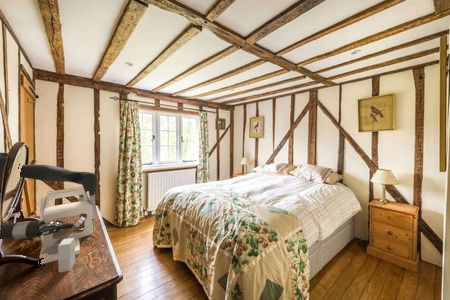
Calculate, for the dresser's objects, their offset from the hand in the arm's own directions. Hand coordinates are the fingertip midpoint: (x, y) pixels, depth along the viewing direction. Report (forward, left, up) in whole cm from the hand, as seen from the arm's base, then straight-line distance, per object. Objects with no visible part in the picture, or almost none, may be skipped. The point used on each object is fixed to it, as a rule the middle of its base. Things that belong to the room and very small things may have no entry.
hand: (72, 225), depth 100 cm
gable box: (-19, -2, -13) cm, 24 cm away
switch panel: (-2, -5, -13) cm, 14 cm away
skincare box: (+15, -2, -13) cm, 20 cm away
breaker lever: (-2, -5, -7) cm, 9 cm away
